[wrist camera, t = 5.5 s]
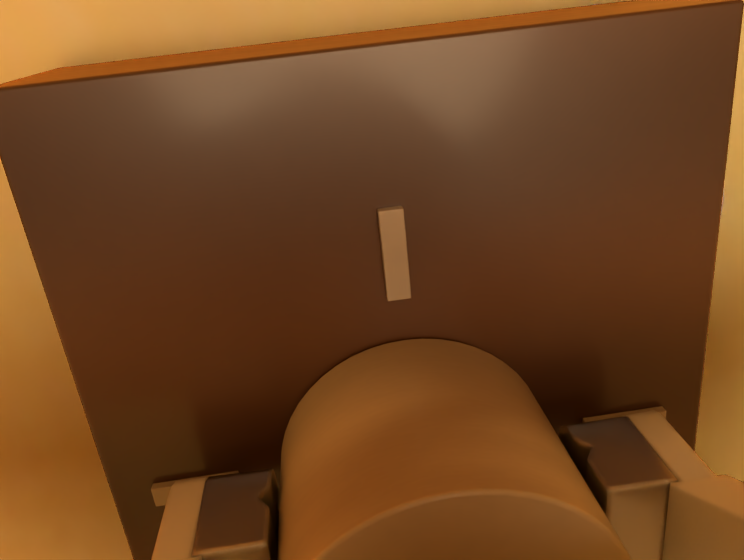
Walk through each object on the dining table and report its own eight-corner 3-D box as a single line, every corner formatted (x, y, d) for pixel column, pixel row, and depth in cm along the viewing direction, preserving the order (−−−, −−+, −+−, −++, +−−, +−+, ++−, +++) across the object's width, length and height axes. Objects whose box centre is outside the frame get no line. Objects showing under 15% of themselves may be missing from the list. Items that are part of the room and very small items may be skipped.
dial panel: (610, 556, 17) (676, 673, 14) (212, 621, 16) (194, 757, 13) (639, -1, 12) (753, -2, 9) (56, 67, 11) (-31, 91, 8)
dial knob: (543, 319, 10) (670, 482, 7) (541, 535, 12) (640, 752, 9) (261, 357, 10) (241, 546, 7) (300, 571, 12) (301, 810, 8)
